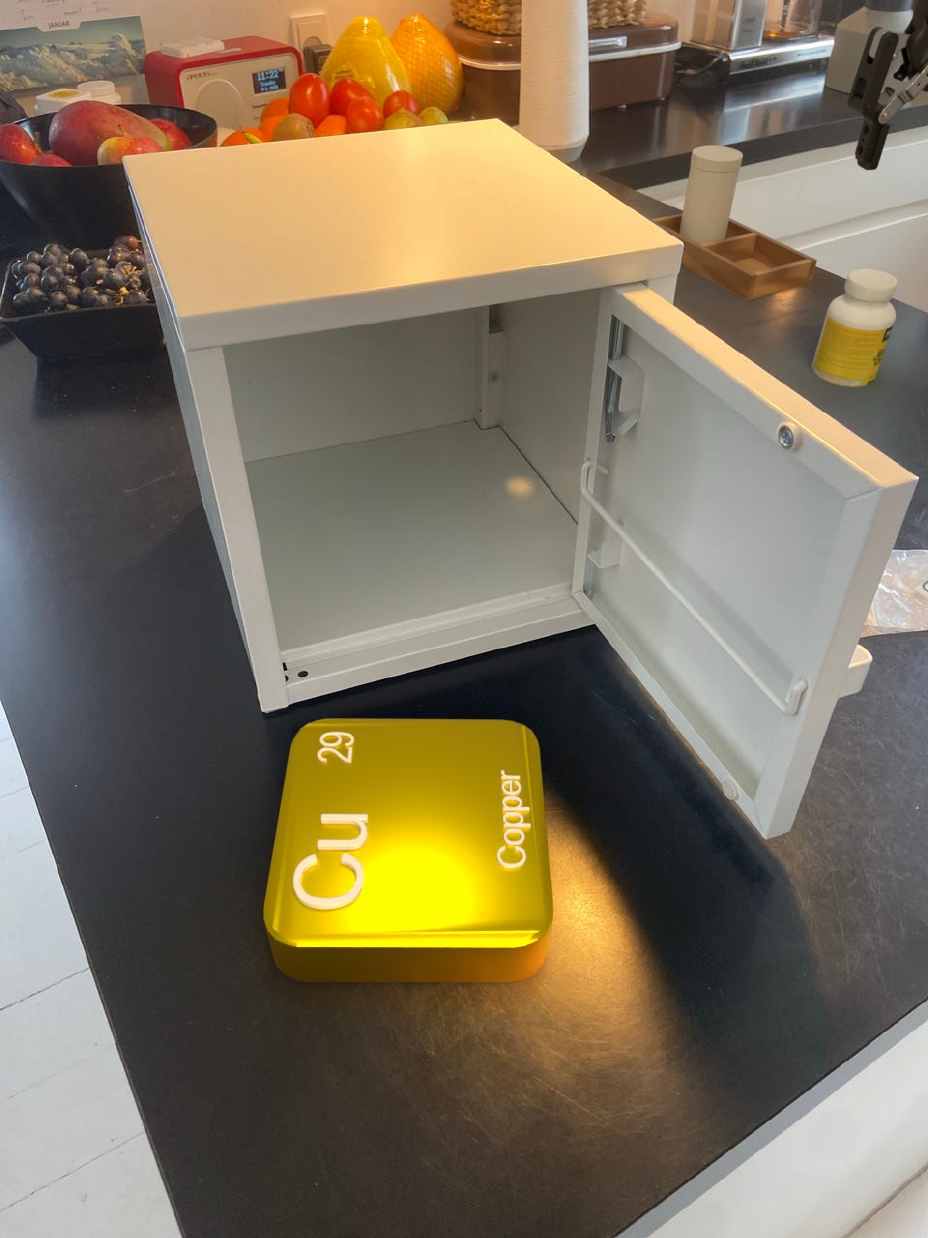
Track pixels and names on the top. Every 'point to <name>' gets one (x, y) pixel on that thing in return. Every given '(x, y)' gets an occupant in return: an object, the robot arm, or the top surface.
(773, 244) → the tray
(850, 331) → the pill bottle
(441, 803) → the element tile
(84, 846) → the top surface
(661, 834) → the top surface
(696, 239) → the beige lidded canister
